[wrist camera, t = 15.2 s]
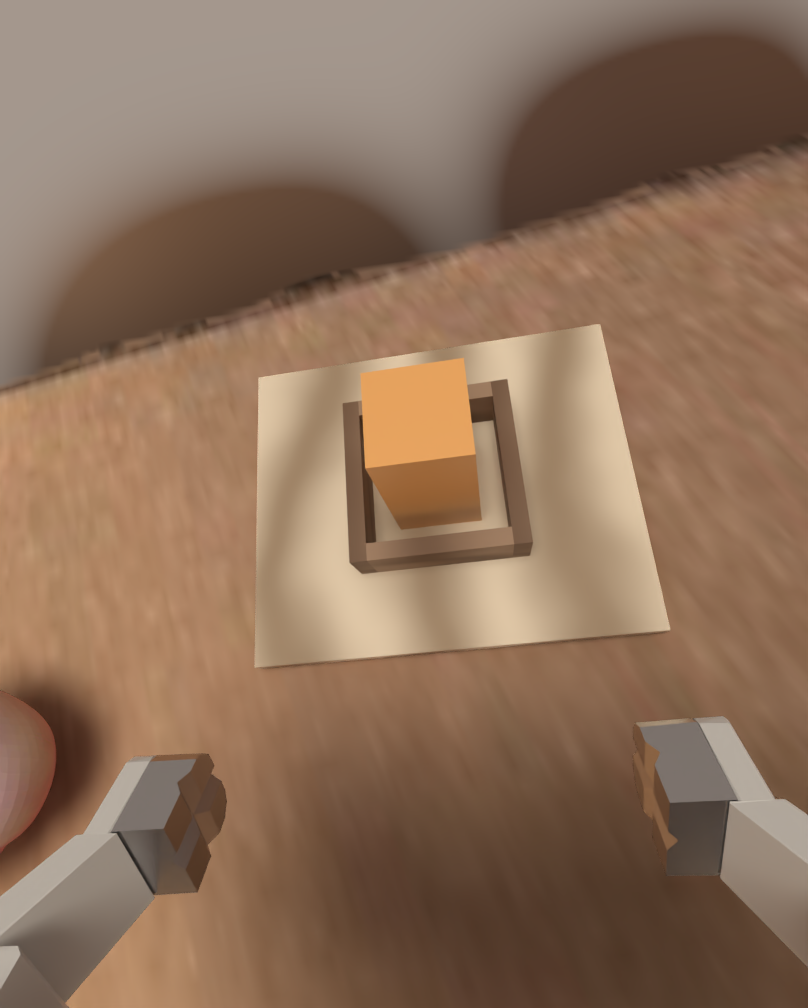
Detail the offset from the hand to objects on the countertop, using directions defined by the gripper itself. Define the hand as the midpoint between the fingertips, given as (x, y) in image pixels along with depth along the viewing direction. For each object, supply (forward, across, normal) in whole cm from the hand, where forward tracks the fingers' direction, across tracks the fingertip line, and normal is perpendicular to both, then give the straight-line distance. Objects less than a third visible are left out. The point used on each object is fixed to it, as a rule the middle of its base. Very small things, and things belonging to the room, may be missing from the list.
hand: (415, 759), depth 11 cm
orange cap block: (+18, 0, +3) cm, 18 cm away
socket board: (+19, 0, +3) cm, 19 cm away
